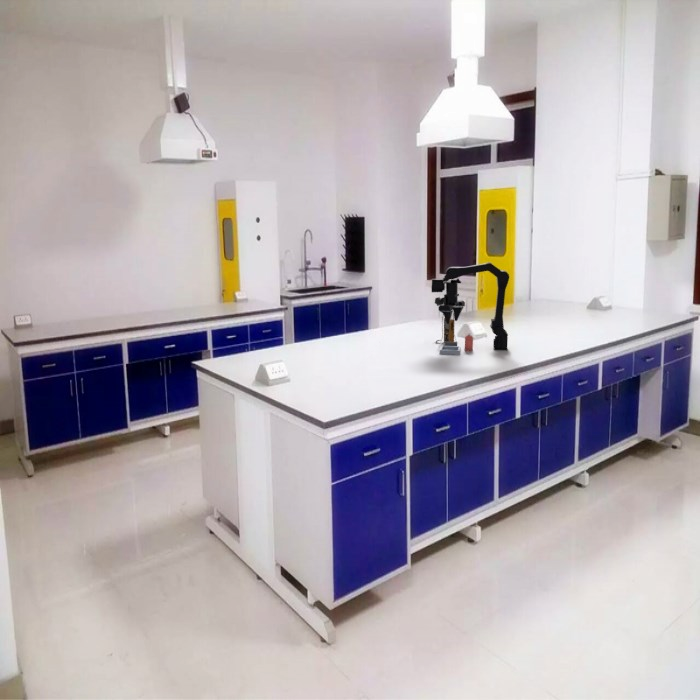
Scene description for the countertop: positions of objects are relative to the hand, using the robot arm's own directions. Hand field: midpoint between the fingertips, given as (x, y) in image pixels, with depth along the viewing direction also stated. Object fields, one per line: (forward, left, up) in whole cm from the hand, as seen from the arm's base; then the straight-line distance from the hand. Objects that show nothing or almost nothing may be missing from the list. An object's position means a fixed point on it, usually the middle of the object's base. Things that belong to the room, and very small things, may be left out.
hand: (451, 322), depth 323 cm
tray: (0, +10, -13) cm, 16 cm away
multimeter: (+5, -10, -14) cm, 18 cm away
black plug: (0, +1, -14) cm, 14 cm away
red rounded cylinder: (-9, +5, -13) cm, 17 cm away
